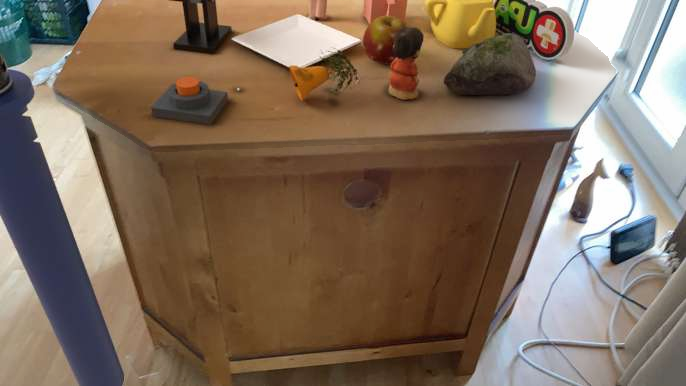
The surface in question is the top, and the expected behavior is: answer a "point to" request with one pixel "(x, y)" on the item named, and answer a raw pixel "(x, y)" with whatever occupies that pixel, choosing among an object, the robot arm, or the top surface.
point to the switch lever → (193, 0)
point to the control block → (190, 105)
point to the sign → (536, 26)
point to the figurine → (405, 63)
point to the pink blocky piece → (384, 9)
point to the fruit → (382, 38)
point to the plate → (296, 41)
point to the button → (188, 86)
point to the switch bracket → (202, 29)
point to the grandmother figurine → (317, 9)
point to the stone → (493, 67)
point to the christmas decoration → (321, 75)
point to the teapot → (462, 21)
